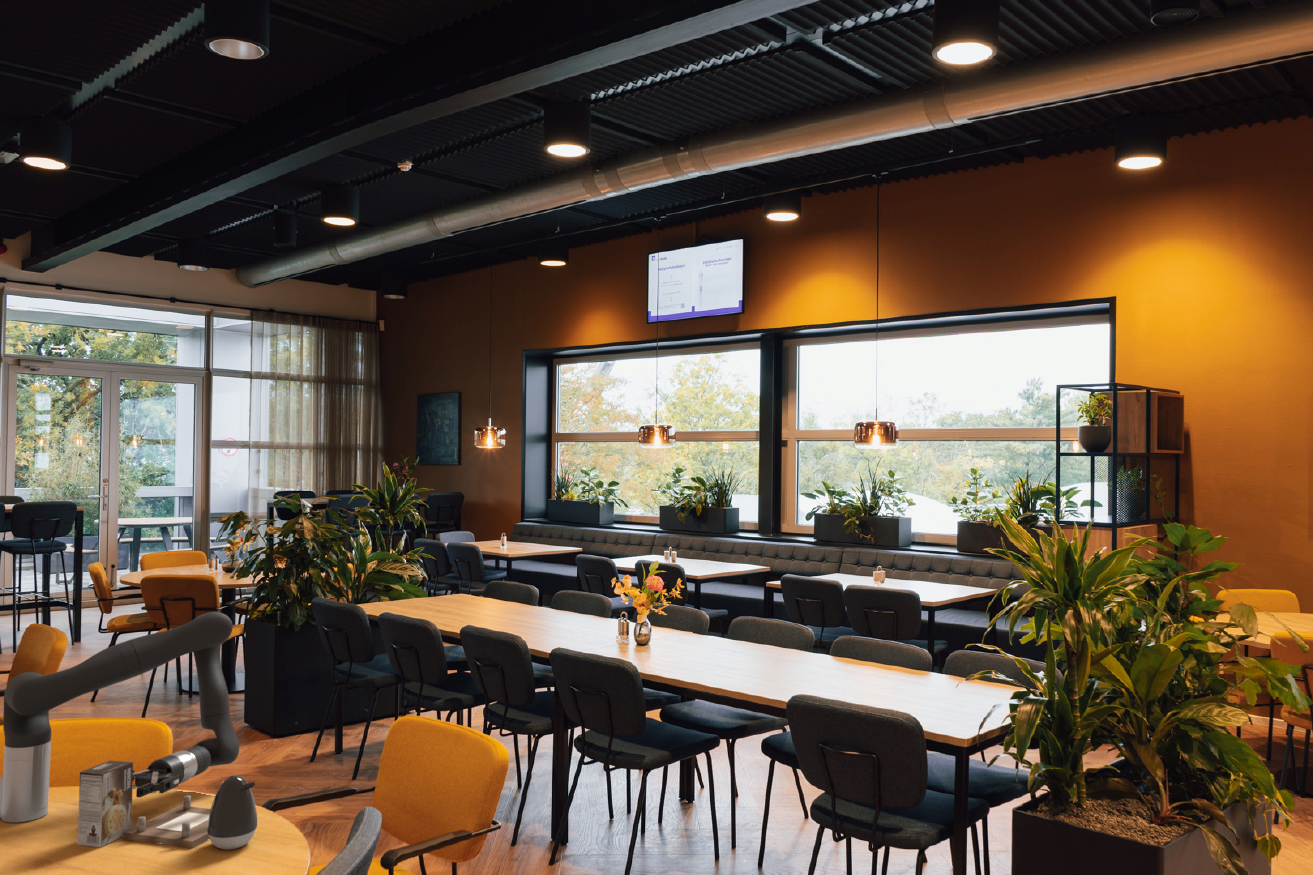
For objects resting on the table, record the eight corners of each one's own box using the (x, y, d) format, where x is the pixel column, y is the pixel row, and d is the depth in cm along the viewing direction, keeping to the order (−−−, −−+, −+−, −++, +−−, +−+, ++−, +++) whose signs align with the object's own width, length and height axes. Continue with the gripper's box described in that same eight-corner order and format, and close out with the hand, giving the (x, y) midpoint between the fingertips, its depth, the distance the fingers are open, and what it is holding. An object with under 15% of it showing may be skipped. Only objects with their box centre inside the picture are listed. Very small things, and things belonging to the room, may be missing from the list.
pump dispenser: (236, 856, 207) (239, 785, 208) (195, 850, 210) (198, 780, 211) (267, 839, 217) (269, 771, 218) (228, 833, 220) (230, 766, 221)
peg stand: (123, 838, 216) (123, 818, 216) (180, 811, 233) (180, 792, 233) (192, 848, 212) (193, 827, 212) (245, 819, 229) (246, 800, 229)
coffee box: (107, 829, 221) (110, 759, 221) (131, 832, 219) (134, 761, 220) (75, 845, 212) (79, 771, 212) (101, 848, 210) (104, 773, 211)
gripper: (148, 751, 238) (96, 771, 222) (198, 757, 235) (149, 777, 219) (147, 782, 238) (94, 804, 222) (197, 788, 234) (147, 811, 219)
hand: (121, 791), depth 220 cm, fingers open, 8 cm apart
